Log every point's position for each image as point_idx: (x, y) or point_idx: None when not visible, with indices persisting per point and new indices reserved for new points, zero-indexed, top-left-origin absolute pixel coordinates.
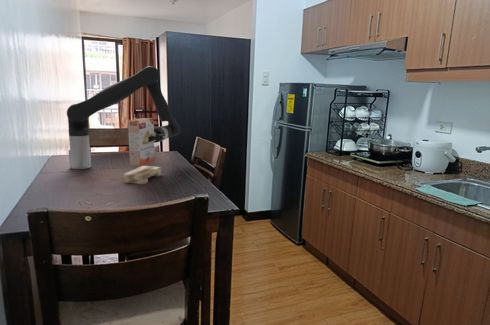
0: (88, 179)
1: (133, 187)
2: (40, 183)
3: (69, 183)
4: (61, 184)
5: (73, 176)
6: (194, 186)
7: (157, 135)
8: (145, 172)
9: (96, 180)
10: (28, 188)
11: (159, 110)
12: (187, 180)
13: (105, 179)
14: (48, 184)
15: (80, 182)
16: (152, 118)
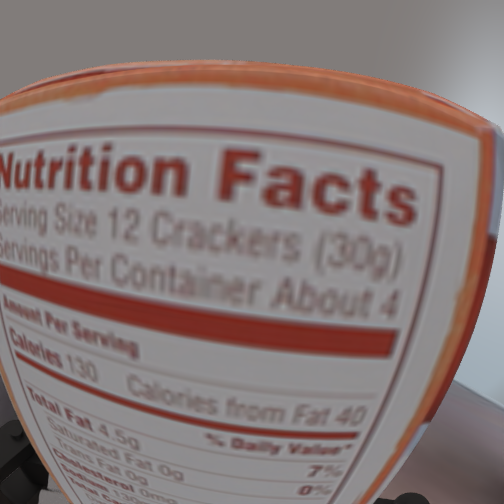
0: (430, 472)
1: None
2: (477, 405)
3: (432, 427)
4: (438, 416)
5: (492, 470)
6: (5, 414)
7: (25, 444)
8: None
9: (397, 475)
10: (455, 381)
11: None
12: (3, 481)
13: (380, 496)
14: (459, 407)
15: (418, 443)
16: (19, 97)
